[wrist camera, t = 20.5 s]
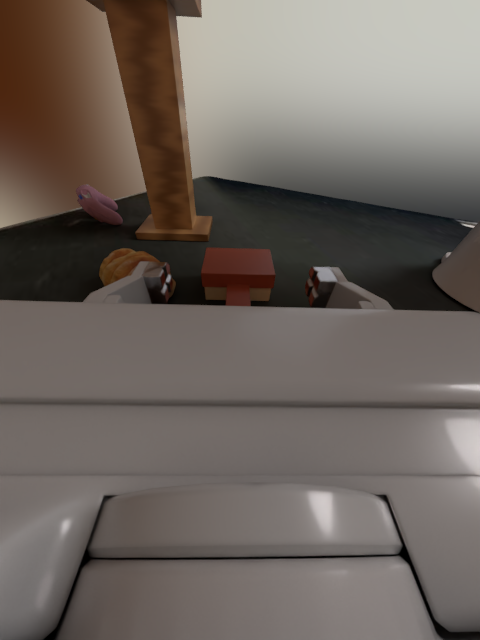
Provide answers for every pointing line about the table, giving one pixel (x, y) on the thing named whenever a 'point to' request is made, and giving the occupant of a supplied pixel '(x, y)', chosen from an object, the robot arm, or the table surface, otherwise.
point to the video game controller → (98, 205)
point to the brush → (237, 275)
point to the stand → (158, 110)
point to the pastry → (124, 265)
